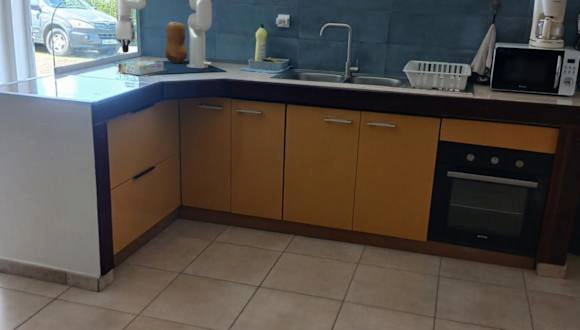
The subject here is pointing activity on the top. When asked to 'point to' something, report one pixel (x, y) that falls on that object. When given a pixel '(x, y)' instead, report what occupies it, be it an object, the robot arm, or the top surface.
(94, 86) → the top surface
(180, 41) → the butternut squash
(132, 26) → the robot arm
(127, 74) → the mat
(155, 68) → the snack box
